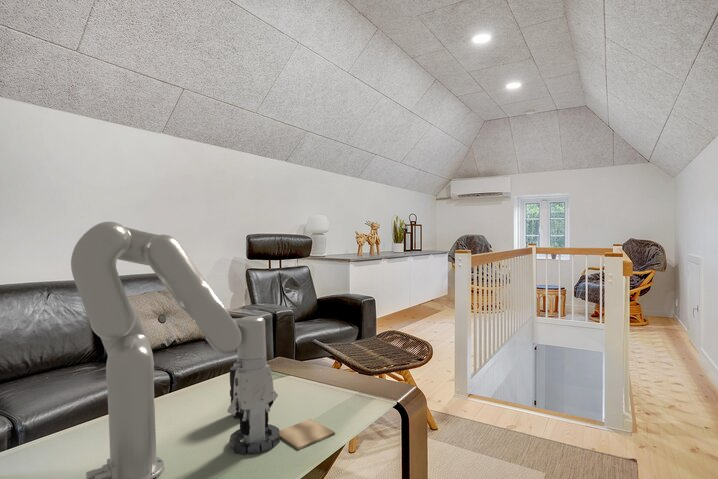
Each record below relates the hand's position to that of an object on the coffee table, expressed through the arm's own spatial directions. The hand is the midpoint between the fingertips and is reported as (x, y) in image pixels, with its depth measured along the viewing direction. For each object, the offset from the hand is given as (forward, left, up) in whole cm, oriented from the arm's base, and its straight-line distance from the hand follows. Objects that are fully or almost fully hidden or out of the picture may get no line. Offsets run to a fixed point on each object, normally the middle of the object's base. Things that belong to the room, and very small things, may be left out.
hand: (254, 429), depth 110 cm
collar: (0, 0, -3) cm, 3 cm away
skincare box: (0, 0, -4) cm, 4 cm away
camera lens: (+6, +19, -4) cm, 20 cm away
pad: (+12, -6, -4) cm, 14 cm away
